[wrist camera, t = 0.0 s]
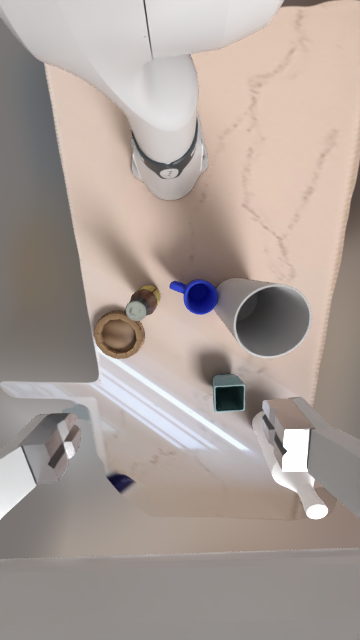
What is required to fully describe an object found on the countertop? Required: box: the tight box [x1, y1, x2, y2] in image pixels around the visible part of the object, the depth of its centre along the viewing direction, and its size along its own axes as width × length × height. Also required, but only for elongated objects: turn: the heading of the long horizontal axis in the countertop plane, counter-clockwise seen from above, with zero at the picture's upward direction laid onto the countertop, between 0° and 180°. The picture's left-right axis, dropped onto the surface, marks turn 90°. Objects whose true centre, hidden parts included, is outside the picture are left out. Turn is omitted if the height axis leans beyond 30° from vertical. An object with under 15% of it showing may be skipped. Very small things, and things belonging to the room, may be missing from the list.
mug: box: [170, 279, 218, 314], centre depth 49 cm, size 8×12×10 cm
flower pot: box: [213, 374, 245, 412], centre depth 57 cm, size 9×9×9 cm
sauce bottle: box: [126, 285, 160, 321], centre depth 45 cm, size 7×6×20 cm
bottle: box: [252, 410, 328, 519], centre depth 54 cm, size 12×12×25 cm
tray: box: [94, 311, 145, 359], centre depth 57 cm, size 15×15×2 cm
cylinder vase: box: [214, 278, 312, 358], centre depth 43 cm, size 12×12×25 cm
